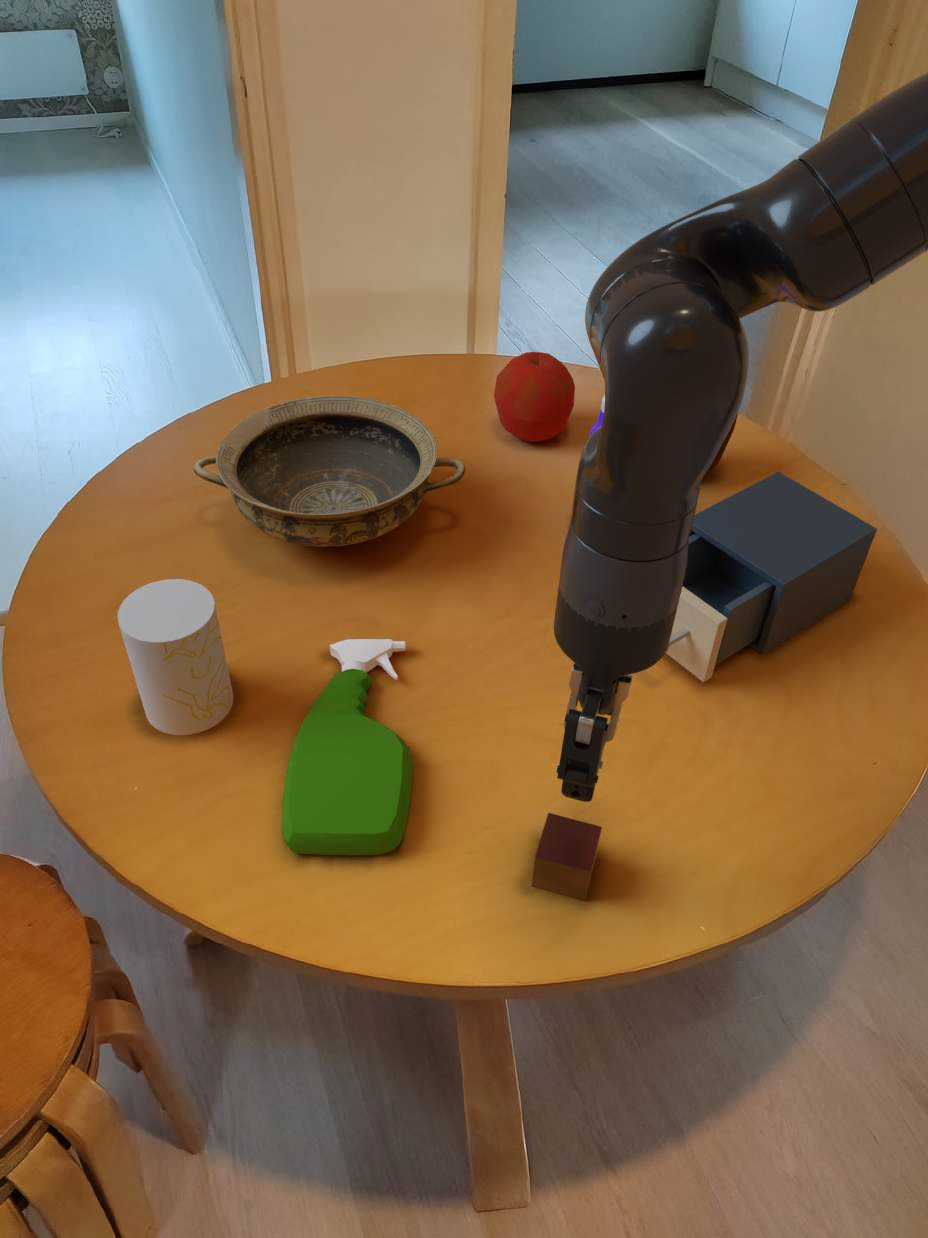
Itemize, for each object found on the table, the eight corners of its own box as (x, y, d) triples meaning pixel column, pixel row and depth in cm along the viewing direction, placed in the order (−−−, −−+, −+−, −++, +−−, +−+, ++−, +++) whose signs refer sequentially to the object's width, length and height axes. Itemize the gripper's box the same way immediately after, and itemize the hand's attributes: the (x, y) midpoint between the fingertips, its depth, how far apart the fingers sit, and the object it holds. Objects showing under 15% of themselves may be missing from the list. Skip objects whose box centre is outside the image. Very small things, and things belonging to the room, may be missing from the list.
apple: (477, 431, 129) (479, 350, 121) (531, 405, 134) (536, 325, 126) (532, 464, 124) (539, 381, 116) (586, 435, 129) (596, 354, 121)
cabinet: (761, 657, 99) (784, 584, 93) (670, 590, 106) (685, 519, 100) (850, 599, 106) (877, 528, 99) (758, 541, 113) (778, 471, 107)
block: (595, 858, 81) (602, 826, 78) (584, 903, 78) (590, 872, 75) (544, 844, 82) (548, 812, 79) (531, 888, 79) (534, 856, 76)
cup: (191, 750, 89) (167, 655, 81) (126, 713, 92) (97, 618, 84) (251, 694, 94) (234, 600, 86) (188, 661, 97) (165, 567, 89)
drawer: (673, 701, 93) (687, 642, 88) (590, 635, 100) (599, 576, 94) (792, 625, 101) (812, 567, 96) (709, 568, 108) (723, 510, 103)
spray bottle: (275, 858, 81) (311, 651, 99) (409, 860, 81) (420, 652, 99) (271, 836, 79) (309, 629, 97) (408, 838, 79) (419, 631, 97)
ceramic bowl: (466, 468, 123) (468, 396, 116) (460, 594, 105) (462, 519, 98) (225, 460, 123) (213, 388, 116) (179, 585, 105) (162, 509, 99)
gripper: (661, 675, 55) (621, 842, 66) (696, 529, 66) (656, 695, 77) (532, 644, 57) (514, 813, 68) (585, 506, 67) (563, 672, 78)
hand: (590, 750), depth 72 cm, fingers open, 8 cm apart
